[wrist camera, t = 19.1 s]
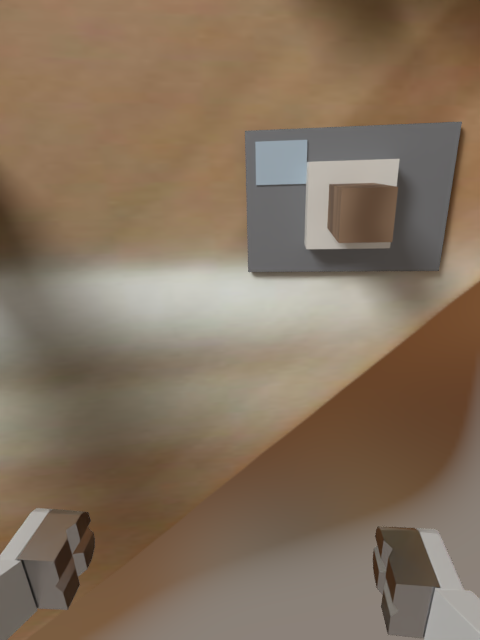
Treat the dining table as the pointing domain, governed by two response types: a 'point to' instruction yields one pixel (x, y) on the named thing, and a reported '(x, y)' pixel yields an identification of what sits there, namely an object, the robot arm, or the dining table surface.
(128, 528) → the dining table surface
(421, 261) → the build base
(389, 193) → the walnut column
